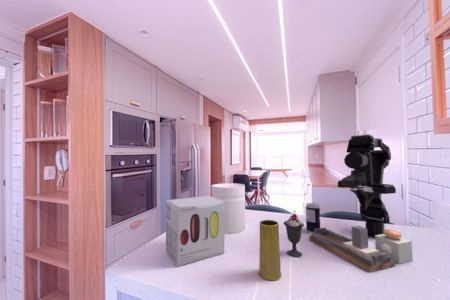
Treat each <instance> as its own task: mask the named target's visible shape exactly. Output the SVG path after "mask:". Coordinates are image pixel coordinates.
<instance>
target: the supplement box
mask: <svg viewBox="0 0 450 300" xmlns="http://www.w3.org/2000/svg"><path fill="white" fill-rule="evenodd" d="M165 206H166V207H165V211H166V212H165V213H166V215H165V217H166V219H165V223H166V225H165V251H166V253H167V255H168V256H169V258H170V259H171V261H172V262H173V263H174V265H175V267H177V268H178V267H181V266H183V265H187V264H190V263H194V262H198V261H201V260H205V259H208V258H213V257H215V256H220V255H223V254H225V234H224V201H222V200H219V199H216V198H213V197H212V196H211V195H202V196H192V197H185V198H175V199H166V205H165Z"/></svg>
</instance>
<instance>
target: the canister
mask: <svg viewBox="0 0 450 300" xmlns="http://www.w3.org/2000/svg"><path fill="white" fill-rule="evenodd" d="M211 197H213V198H216V199H219V200H222V201H224V235H226V234H227V235H233V234H238V233H239V234H240V233H242V232H244V231H245V230H246V186H245V184H243V183H235V182H233V183H230V182H229V183H228V182H227V183H225V182H224V183H215V184H211Z"/></svg>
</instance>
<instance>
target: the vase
mask: <svg viewBox="0 0 450 300" xmlns="http://www.w3.org/2000/svg"><path fill="white" fill-rule="evenodd" d="M279 229H280V228H279V222H278V221H277V220H273V219H263V220H261V221H259V268H258V269H259V270H258V275H259V276H260V277H261V278H262V279H264V280H267V281H277V280H280V279H281V278H282V272H281V249H280V248H281V247H280V232H279V231H280V230H279Z"/></svg>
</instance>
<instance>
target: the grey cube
mask: <svg viewBox="0 0 450 300" xmlns="http://www.w3.org/2000/svg"><path fill="white" fill-rule="evenodd" d="M374 241H375V242H374V243H375V249H376V250H378V251H380V252H382V253H387V254H388V255H390V256H392V261H394V263H396V264H400V265H401V264H406V263H409V262H413V261H414V259H413V258H414V257H413V244H412V242H413V241H412V240H409V239H406V238H403V237H401V238H397V240H395V241H394V240H391V239H389V236H386V235H384V234H381V235H375V238H374Z"/></svg>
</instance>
